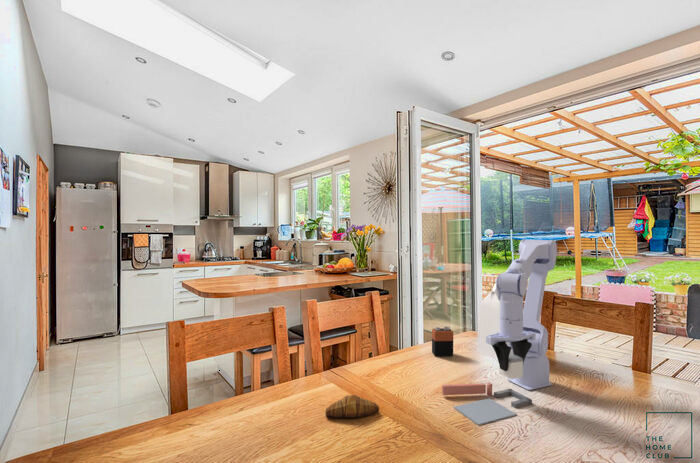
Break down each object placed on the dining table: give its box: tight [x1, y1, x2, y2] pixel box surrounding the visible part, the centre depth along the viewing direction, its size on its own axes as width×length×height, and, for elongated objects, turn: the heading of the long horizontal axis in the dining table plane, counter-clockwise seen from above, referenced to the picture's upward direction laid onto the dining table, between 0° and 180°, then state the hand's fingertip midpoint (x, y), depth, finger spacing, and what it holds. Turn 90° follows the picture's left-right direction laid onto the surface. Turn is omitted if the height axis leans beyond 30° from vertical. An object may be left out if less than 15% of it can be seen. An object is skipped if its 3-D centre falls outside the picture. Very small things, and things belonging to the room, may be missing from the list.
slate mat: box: [453, 397, 518, 426], centre depth 91 cm, size 12×9×1 cm
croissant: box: [325, 394, 380, 419], centre depth 90 cm, size 14×7×5 cm, turn 100°
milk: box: [476, 283, 513, 361], centre depth 133 cm, size 12×12×26 cm
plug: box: [499, 353, 523, 379], centre depth 97 cm, size 4×4×5 cm
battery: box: [431, 326, 454, 357], centre depth 132 cm, size 4×7×10 cm, turn 93°
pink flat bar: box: [441, 382, 493, 397], centre depth 100 cm, size 1×14×3 cm, turn 95°
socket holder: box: [493, 388, 533, 409], centre depth 98 cm, size 6×7×1 cm
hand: (510, 368), depth 97 cm, fingers closed on plug, 4 cm apart
